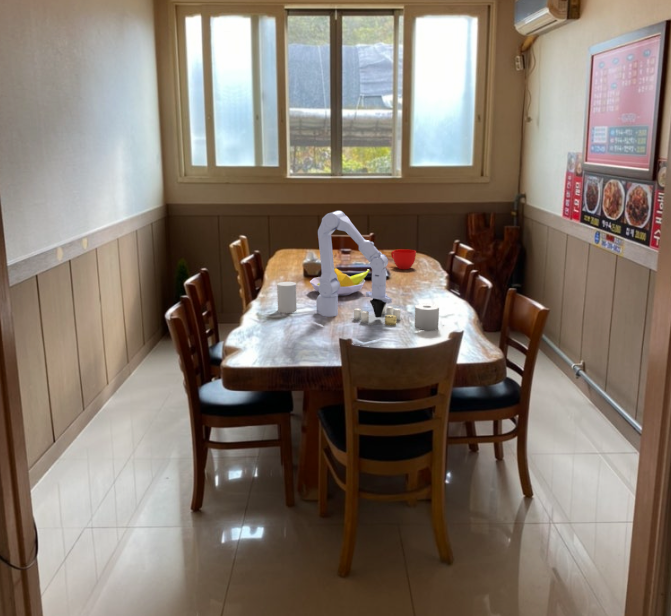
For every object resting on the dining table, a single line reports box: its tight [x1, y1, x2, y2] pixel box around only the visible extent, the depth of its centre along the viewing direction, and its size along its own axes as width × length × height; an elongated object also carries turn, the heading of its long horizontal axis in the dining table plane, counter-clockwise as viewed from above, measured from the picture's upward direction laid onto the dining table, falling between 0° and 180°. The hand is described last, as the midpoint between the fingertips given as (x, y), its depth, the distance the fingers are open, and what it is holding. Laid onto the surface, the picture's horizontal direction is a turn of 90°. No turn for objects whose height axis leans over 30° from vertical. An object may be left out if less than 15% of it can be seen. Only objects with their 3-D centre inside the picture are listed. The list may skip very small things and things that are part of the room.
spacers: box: [353, 304, 401, 324], centre depth 265 cm, size 12×16×4 cm
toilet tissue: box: [414, 303, 440, 332], centre depth 257 cm, size 9×13×9 cm
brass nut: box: [384, 315, 397, 326], centre depth 259 cm, size 5×5×3 cm
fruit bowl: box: [309, 267, 371, 297], centre depth 312 cm, size 28×27×11 cm
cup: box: [276, 281, 298, 314], centre depth 280 cm, size 8×8×12 cm
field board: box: [350, 313, 402, 327], centre depth 266 cm, size 13×17×1 cm
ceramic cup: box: [390, 248, 417, 270], centre depth 372 cm, size 13×17×10 cm
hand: (378, 316), depth 265 cm, fingers closed
